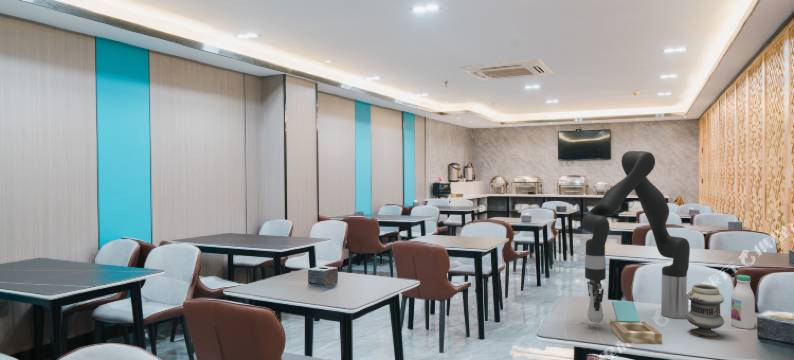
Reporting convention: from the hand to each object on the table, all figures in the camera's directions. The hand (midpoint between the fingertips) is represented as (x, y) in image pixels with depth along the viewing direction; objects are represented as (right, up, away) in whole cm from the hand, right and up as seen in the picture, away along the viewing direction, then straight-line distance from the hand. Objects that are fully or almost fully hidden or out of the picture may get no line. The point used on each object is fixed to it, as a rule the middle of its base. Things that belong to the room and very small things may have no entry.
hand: (595, 310), depth 202 cm
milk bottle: (+59, -7, +2) cm, 59 cm away
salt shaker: (0, -4, 0) cm, 4 cm away
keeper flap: (+12, -1, 0) cm, 12 cm away
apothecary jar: (+38, -7, -7) cm, 40 cm away
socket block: (+11, -7, -7) cm, 15 cm away
